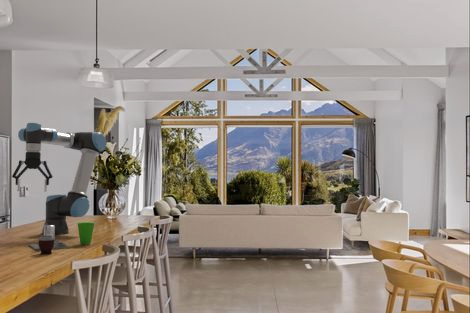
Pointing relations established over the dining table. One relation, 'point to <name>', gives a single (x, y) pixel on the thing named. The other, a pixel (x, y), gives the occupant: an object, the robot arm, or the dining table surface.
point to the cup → (85, 232)
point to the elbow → (50, 230)
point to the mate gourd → (46, 243)
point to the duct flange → (56, 246)
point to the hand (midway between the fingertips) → (32, 191)
